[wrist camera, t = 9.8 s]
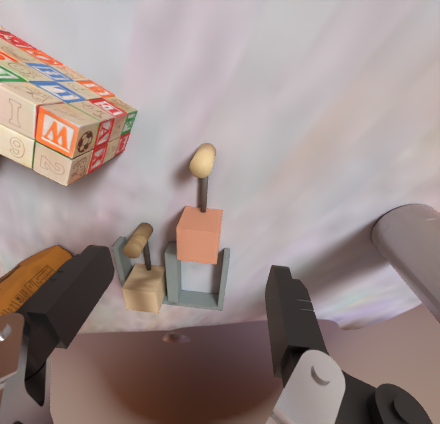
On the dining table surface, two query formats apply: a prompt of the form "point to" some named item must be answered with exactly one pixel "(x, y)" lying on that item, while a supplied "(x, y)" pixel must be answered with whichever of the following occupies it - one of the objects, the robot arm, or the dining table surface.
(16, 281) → the coffee package
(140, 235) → the birch block
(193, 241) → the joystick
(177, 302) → the shelf rack
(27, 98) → the stack of blocks
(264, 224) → the dining table surface
